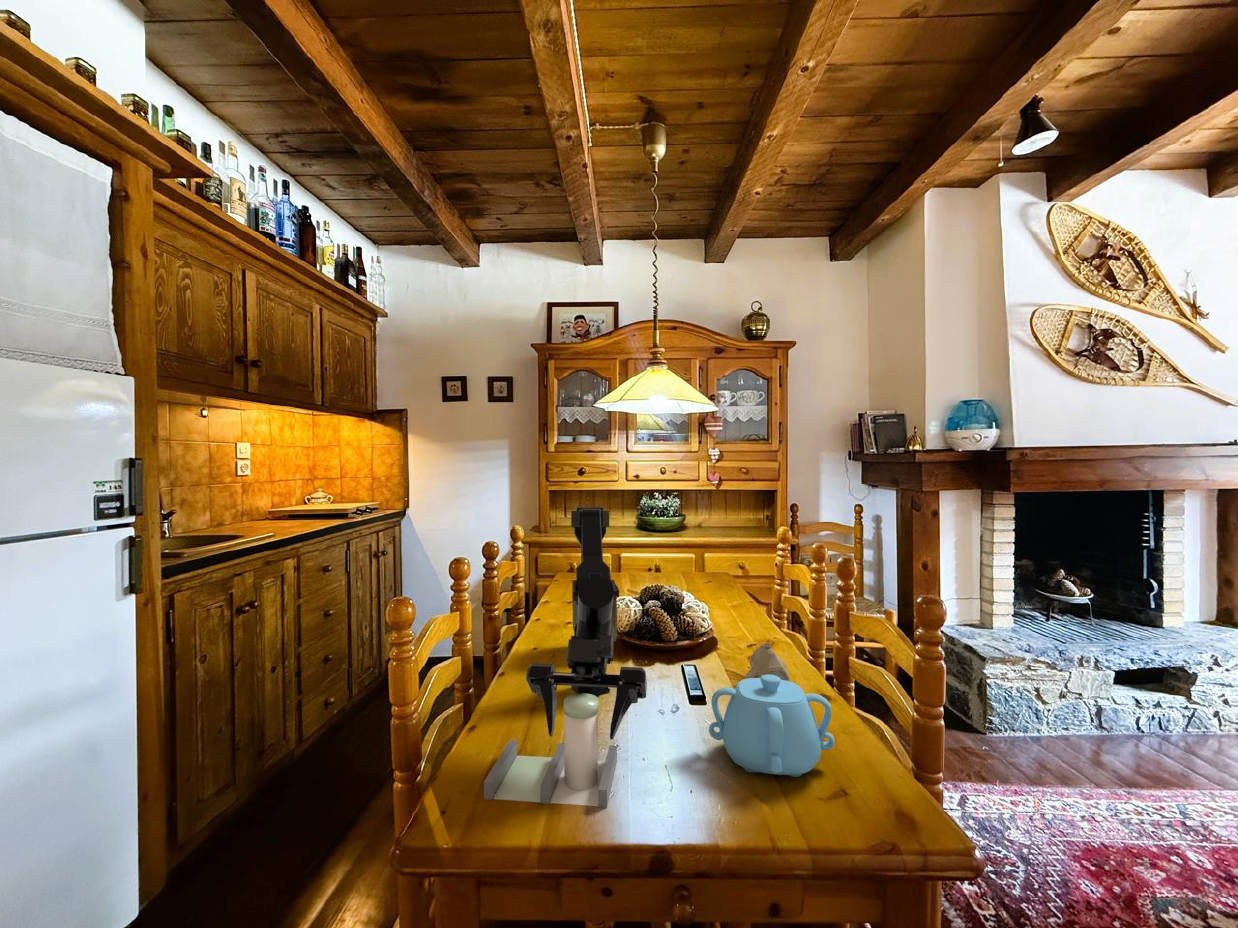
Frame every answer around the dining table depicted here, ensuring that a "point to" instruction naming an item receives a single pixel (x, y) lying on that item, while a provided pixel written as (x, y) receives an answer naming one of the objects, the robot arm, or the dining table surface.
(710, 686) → the dining table surface
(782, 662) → the ceramic model
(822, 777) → the dining table surface
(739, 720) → the decorative pot
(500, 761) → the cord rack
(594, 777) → the white capped canister
